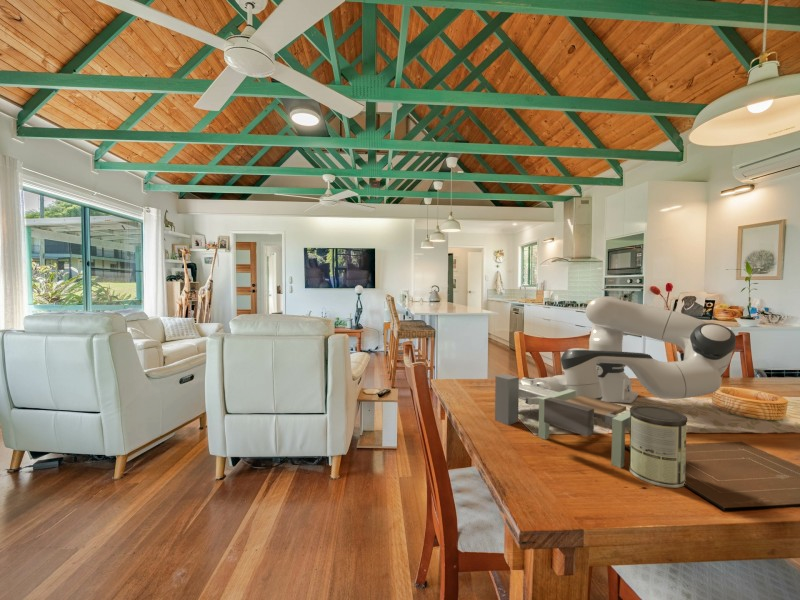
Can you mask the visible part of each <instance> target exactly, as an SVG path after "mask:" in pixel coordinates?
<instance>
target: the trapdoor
mask: <svg viewBox="0 0 800 600" xmlns="http://www.w3.org/2000/svg"><path fill="white" fill-rule="evenodd" d="M624 412H627V406H626V405H622V404H617V403H615V402H606V401H602V400H598V399H593V398H589V397H585V396H581V395H580V396H577V397H574V398H571V399H568V400H565V401H564V400H560V399H556V398H552V397H550V398H546V399H544V422H545V423H548V424H549V425H550V426H551V425H552V426H555V427H558V428H560V429H564V430H565V431H566V430H567V431H569V432H572V433H575V434H578V435H582V436H584V437H589V436H591V435H593V434H594V433H595V431H594V430H595V429H594V428H595V419H599V420H602V421H605V415H606V414H608V413H609V414H613V415H617V416H618V415H620V414H622V413H624Z"/></svg>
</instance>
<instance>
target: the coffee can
mask: <svg viewBox="0 0 800 600" xmlns="http://www.w3.org/2000/svg"><path fill="white" fill-rule="evenodd" d="M629 411H630V425H629V468H628V470H629V472H630V473H631V474H632V475H633V476H634V477H635V478H637V479H639V480H641V481H643V482H645V483H648V484H650V485H653V486H658V487H662V488H671V489H672V488H673V489H676V488H682V487H684V486H685V485H684V483H685V481H686V462H687V460H686V458H687V457H686V456H687V455H686V454H687V422H688V416H686V415H685V414H683V413H681V412H679V411H676V410H673V409H670V408H665V407H660V406H653V405H634V406H630V407H629ZM685 484H686V483H685Z"/></svg>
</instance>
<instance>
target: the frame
mask: <svg viewBox="0 0 800 600" xmlns="http://www.w3.org/2000/svg"><path fill="white" fill-rule="evenodd" d="M550 397H552V398H556V399H560V400H564V401H565V400H568V399H571V398H574V397H576V391H575V390H571V389H568V390H565V391H561V392H558V393H555V394H551V395H548V396H545V397H541V398H539V405H538V434H537V435H538V437H537V438H539V439H541V440H542V439H543V440H545V441H546V440H547V439H550V424H548V423H545V422H544V399H546V398H550ZM604 424H606V425H609V426H611V457H610V458H611V459H610V462H611V466H613V467H616V468H619V469H621V468H623V467H624V466H625V456H626V455H625V453H626V452H625V450H626V428H627V427H630V410H628V411H624V412H622V413H620V414H617V415H613V414H609V413H608V414H606V415H605V420H604Z"/></svg>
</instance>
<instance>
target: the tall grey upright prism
mask: <svg viewBox="0 0 800 600" xmlns="http://www.w3.org/2000/svg"><path fill="white" fill-rule="evenodd" d="M494 378H495V385H494V386H495V388H494V390H495V391H494V393H495V394H494V396H495V397H494V404H495V405H494V421H496V422H499V423H501V424H504V425H507V426H510V425H512V424H513V425H514V424H515V423H519V399H520V398H519V380H520V377H519V376H515V375H511V374H507V373H504V374H499V375H496V376H495V377H494Z"/></svg>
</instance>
